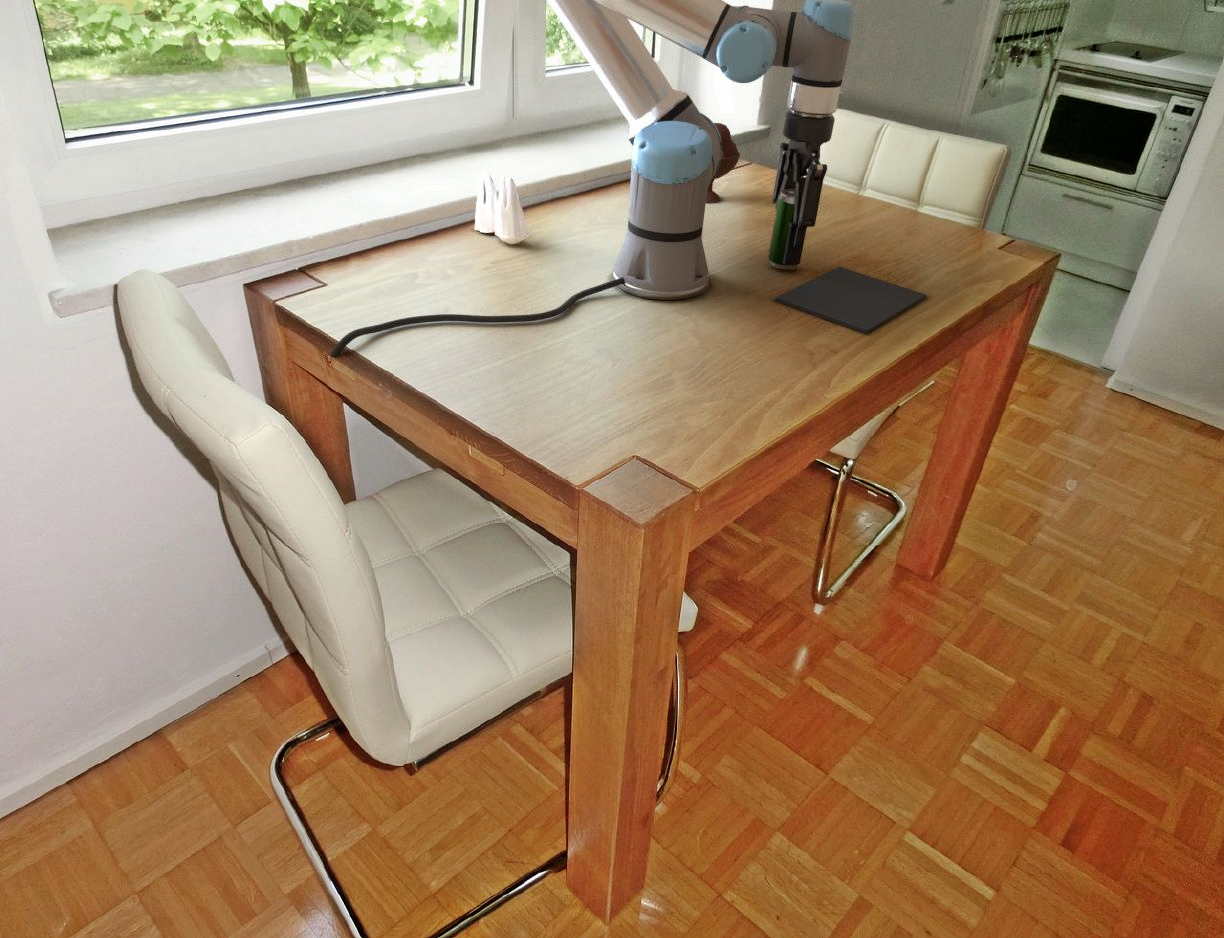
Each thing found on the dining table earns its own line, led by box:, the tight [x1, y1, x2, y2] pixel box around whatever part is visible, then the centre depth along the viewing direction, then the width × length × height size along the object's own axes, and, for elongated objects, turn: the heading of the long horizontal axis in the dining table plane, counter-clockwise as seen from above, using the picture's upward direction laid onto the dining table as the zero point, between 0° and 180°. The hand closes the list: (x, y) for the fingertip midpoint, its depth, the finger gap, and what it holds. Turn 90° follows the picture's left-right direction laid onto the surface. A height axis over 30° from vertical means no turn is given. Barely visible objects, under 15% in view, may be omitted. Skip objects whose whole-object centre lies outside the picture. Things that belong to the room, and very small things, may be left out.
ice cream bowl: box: [706, 122, 741, 204], centre depth 178 cm, size 11×11×15 cm
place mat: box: [774, 266, 927, 335], centre depth 142 cm, size 20×16×1 cm
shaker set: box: [474, 173, 530, 245], centre depth 154 cm, size 12×4×11 cm, turn 40°
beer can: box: [767, 189, 799, 270], centre depth 148 cm, size 5×5×12 cm
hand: (784, 256), depth 151 cm, fingers closed on beer can, 5 cm apart
